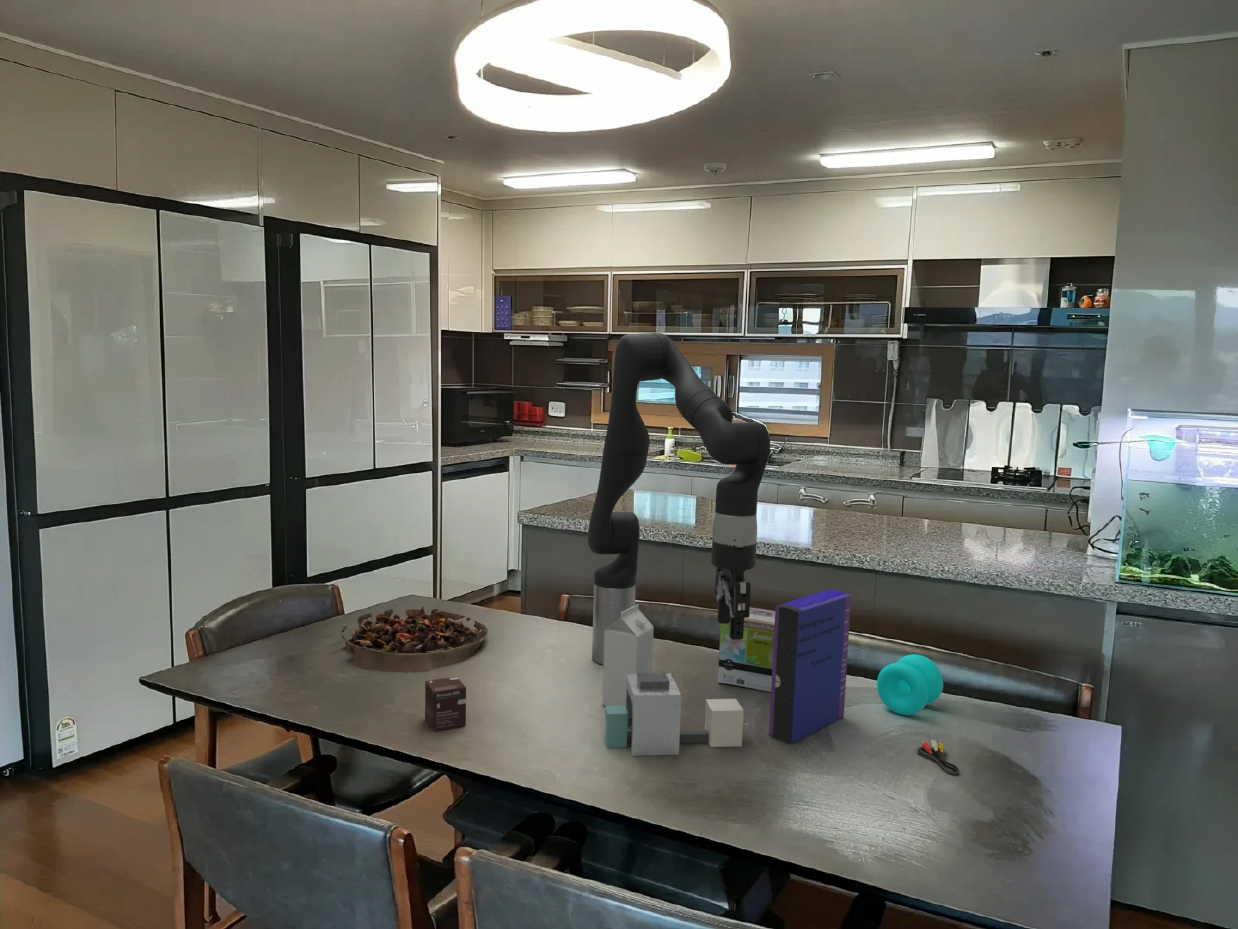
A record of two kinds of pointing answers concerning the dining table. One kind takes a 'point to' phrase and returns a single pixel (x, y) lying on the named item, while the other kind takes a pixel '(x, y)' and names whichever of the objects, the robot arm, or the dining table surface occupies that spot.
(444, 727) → the box
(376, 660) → the potpourri bowl
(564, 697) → the dining table surface
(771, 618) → the tea box
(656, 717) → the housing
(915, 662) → the turquoise yo-yo
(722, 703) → the plug
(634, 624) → the milk carton
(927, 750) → the composite cable
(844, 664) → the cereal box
